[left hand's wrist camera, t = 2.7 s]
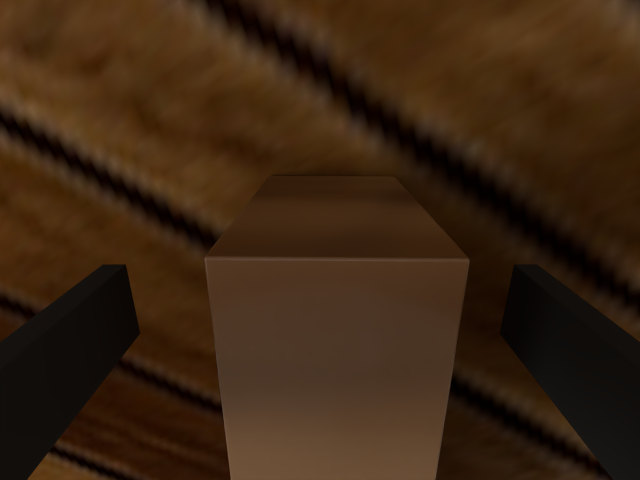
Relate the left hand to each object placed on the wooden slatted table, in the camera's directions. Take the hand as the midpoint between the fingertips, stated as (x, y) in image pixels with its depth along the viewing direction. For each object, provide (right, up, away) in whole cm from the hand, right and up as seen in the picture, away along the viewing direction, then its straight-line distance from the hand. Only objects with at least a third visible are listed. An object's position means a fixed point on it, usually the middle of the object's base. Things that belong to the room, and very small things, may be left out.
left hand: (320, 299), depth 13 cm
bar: (0, -6, +7) cm, 9 cm away
